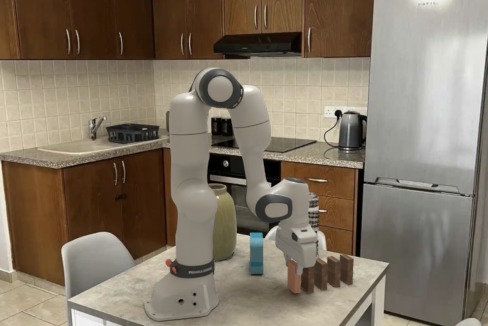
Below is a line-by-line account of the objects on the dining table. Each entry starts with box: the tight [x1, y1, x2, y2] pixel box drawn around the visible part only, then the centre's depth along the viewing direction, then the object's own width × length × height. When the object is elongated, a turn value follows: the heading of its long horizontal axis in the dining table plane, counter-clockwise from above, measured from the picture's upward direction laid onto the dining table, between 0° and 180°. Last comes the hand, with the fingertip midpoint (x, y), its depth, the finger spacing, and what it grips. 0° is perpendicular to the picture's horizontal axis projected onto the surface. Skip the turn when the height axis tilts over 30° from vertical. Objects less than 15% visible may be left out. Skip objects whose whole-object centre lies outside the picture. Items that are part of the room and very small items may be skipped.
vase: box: [207, 183, 238, 262], centre depth 188 cm, size 17×17×27 cm
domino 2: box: [300, 266, 315, 294], centre depth 159 cm, size 2×5×9 cm, turn 24°
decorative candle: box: [308, 191, 321, 259], centre depth 185 cm, size 9×9×25 cm
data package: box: [249, 232, 264, 275], centre depth 176 cm, size 12×4×12 cm, turn 0°
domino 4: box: [326, 255, 341, 289], centre depth 163 cm, size 2×5×9 cm, turn 24°
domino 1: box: [286, 259, 301, 294], centre depth 157 cm, size 2×5×9 cm, turn 23°
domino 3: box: [314, 257, 328, 291], centre depth 161 cm, size 2×5×9 cm, turn 23°
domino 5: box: [339, 253, 355, 286], centre depth 165 cm, size 2×5×9 cm, turn 23°
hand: (293, 270), depth 157 cm, fingers closed on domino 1, 5 cm apart
